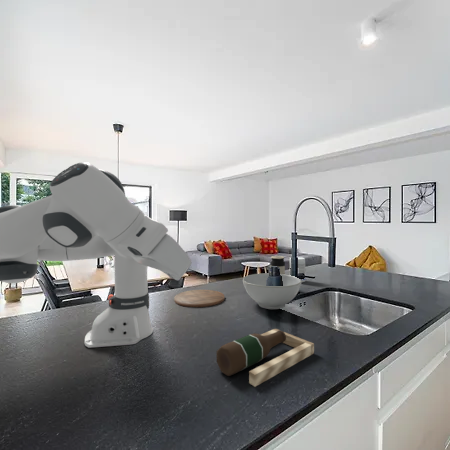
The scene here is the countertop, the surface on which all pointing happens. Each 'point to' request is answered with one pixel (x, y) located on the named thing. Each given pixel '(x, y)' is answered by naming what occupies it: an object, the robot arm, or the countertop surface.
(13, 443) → the countertop surface
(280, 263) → the travel mug
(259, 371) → the u rest
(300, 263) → the supplement tub
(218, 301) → the trivet
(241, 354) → the beer bottle
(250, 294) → the decorative bowl
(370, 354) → the countertop surface
